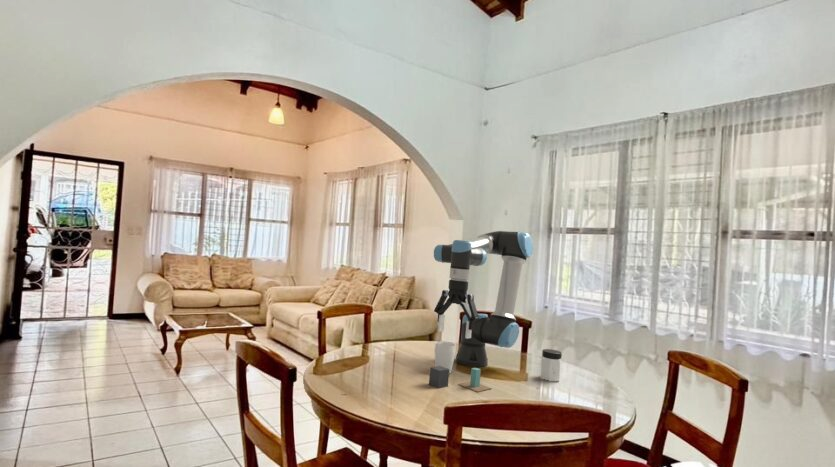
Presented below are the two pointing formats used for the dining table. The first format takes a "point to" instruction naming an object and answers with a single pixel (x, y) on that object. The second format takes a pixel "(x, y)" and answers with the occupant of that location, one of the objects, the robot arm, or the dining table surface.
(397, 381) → the dining table surface
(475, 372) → the teal post on base
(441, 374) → the charcoal cuboid
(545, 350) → the jar
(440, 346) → the cup
